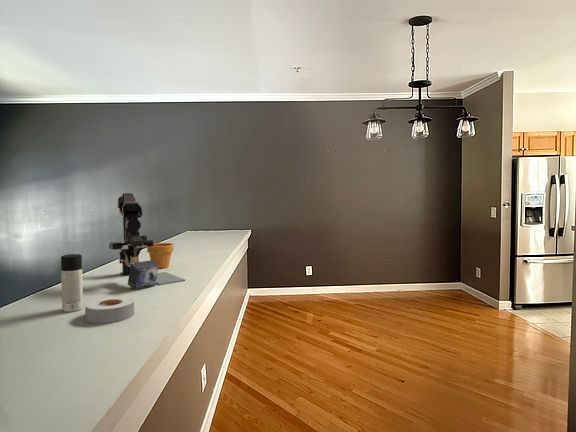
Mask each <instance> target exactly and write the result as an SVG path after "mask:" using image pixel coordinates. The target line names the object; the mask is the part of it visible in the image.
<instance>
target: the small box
mask: <svg viewBox="0 0 576 432" xmlns="http://www.w3.org/2000/svg"><path fill="white" fill-rule="evenodd" d="M158 266H159V265H157V264H156V263H155V262H153V261H152V260H151V259H150V260H144V261H139V262H136V263H131V266H130V272H129V275H128V279H127V286H129V287H130V288H131V289H132V290H134V291H135V290H136V291H137V290H142V289H146V288H151V287H156V285H157V284H156V278H157V273H159V272H158V271H159V269H158Z"/></svg>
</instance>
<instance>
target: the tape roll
mask: <svg viewBox="0 0 576 432" xmlns="http://www.w3.org/2000/svg"><path fill="white" fill-rule="evenodd" d="M84 310H85V313H84V314H85V321H86V322H87V323H89V324H94V325H104V324H105V325H106V324H113V323H120V322H123V321H125V320H128V319H130V318H132V317H133V316H134V315H135V300H134V299H133V298H131V297H127V296H110V297H103V298H98V299H94V300H91V301H89V302H87V303H86V304H85V306H84Z"/></svg>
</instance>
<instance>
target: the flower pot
mask: <svg viewBox="0 0 576 432" xmlns="http://www.w3.org/2000/svg"><path fill="white" fill-rule="evenodd" d="M146 251H147V253H148V254H149V258H150V260H152V261H153V262H155V263H156V264H157V265H159V266H158V270H159V269H167V268H169V267H170V263H171V258H172V253H173V251H174V243H171V242H155V243H154V246H146Z"/></svg>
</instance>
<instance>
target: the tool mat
mask: <svg viewBox="0 0 576 432" xmlns="http://www.w3.org/2000/svg"><path fill="white" fill-rule="evenodd" d="M185 281H186V279H185V278H183V277H180V276H177V275H175V274H172V273H169V272H166V271H163V272H157V278H156V284H155V285H158V286H162V285H163V286H164V285H168V284H175V283H181V282H185Z"/></svg>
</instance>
